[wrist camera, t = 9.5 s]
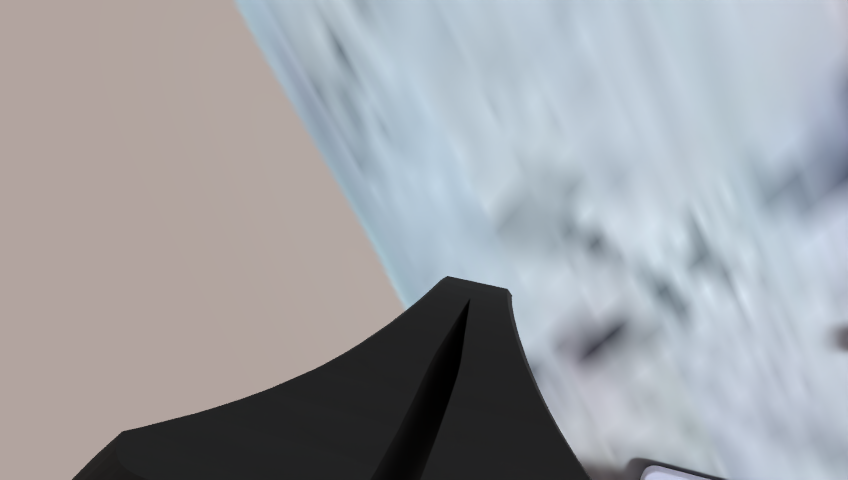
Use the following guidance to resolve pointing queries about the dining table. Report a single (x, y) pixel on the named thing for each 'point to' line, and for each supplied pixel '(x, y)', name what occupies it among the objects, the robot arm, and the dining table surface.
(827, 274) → the dining table surface
